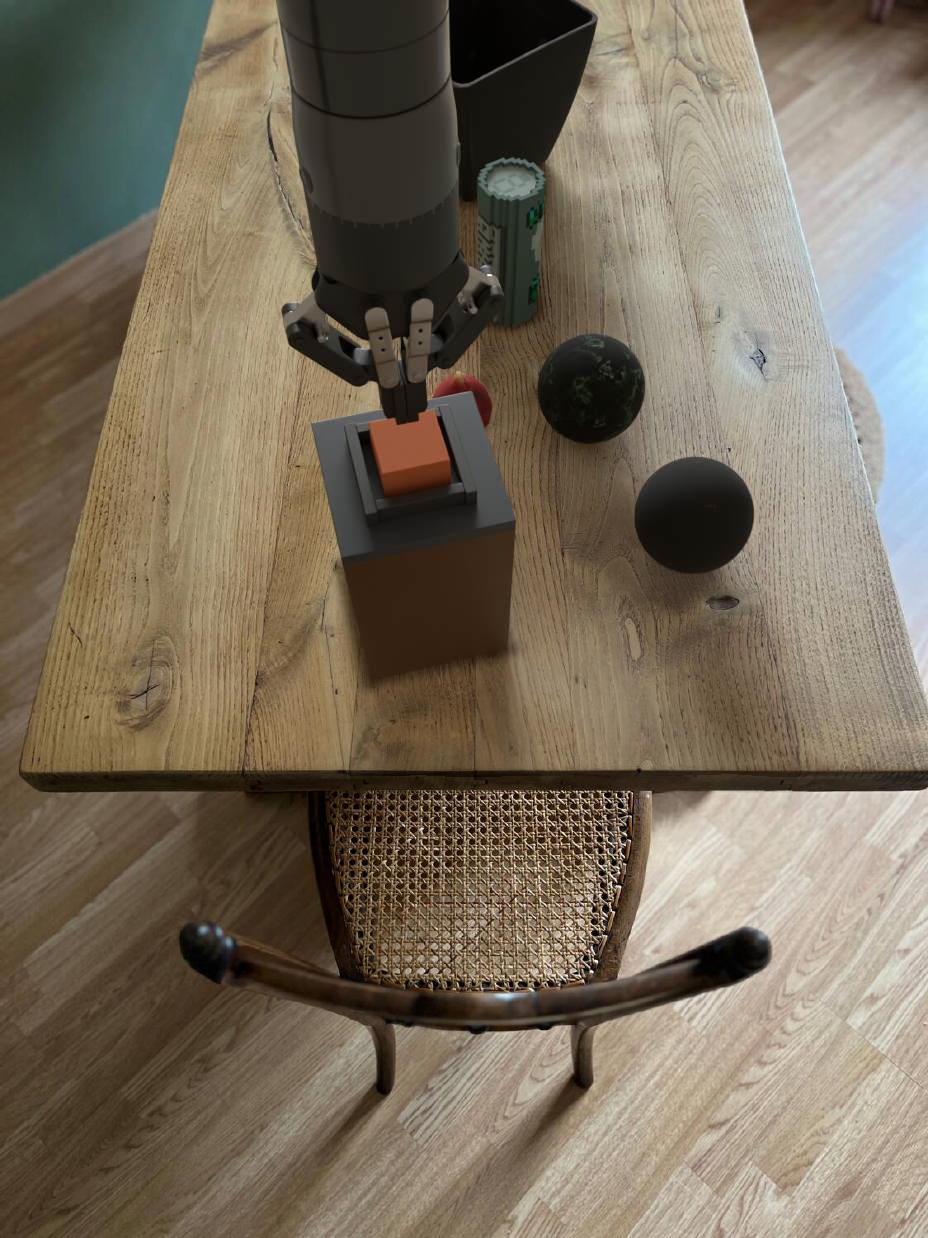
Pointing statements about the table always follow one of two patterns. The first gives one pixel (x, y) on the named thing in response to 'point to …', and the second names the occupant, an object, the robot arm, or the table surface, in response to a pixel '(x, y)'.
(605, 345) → the decorative stone
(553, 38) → the flower pot
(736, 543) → the black ball
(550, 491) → the table surface
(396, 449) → the block
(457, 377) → the onion
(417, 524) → the brown holder box
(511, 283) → the can
